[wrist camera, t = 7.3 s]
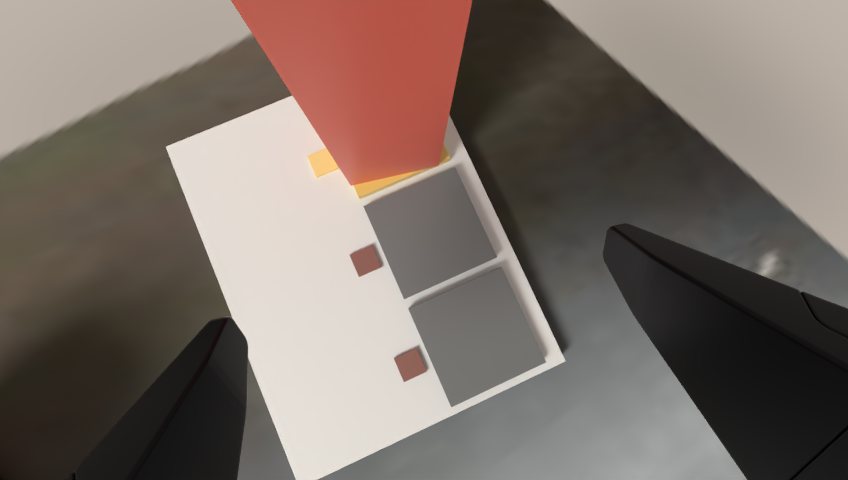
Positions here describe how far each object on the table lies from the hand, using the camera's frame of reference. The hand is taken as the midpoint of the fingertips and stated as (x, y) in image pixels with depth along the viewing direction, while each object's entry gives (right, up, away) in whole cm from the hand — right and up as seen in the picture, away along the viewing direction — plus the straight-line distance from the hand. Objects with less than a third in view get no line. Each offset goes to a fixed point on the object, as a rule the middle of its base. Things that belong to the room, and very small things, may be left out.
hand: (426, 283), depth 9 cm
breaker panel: (-3, 0, +11) cm, 12 cm away
